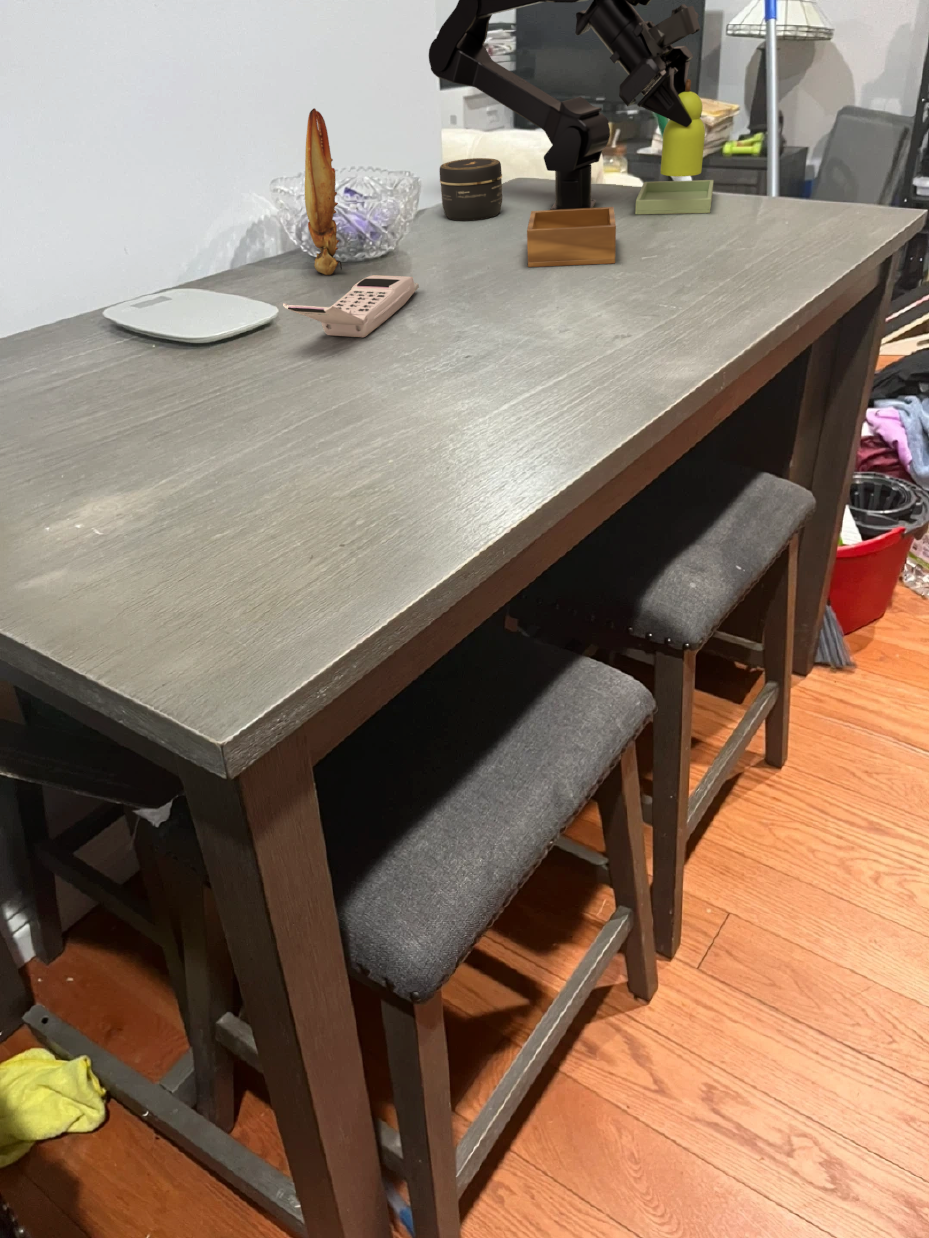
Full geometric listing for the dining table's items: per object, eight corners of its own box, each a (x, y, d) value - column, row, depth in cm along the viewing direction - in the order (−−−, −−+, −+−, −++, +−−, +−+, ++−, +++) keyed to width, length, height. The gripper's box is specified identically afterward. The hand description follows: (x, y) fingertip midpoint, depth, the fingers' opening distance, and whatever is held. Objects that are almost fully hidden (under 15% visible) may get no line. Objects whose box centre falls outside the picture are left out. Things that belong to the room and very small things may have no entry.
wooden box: (531, 245, 129) (531, 211, 126) (612, 241, 128) (613, 206, 125) (527, 267, 120) (526, 230, 117) (615, 263, 118) (615, 226, 116)
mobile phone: (279, 305, 93) (375, 241, 112) (289, 361, 97) (380, 290, 116) (331, 308, 91) (420, 243, 110) (340, 364, 95) (424, 292, 114)
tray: (643, 195, 151) (643, 182, 150) (712, 193, 148) (713, 180, 147) (635, 214, 140) (635, 200, 139) (709, 213, 137) (710, 199, 136)
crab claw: (333, 283, 120) (307, 112, 109) (299, 282, 122) (270, 114, 110) (355, 269, 125) (333, 104, 114) (322, 268, 127) (297, 106, 115)
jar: (506, 206, 151) (504, 156, 147) (500, 220, 143) (497, 167, 139) (448, 209, 153) (444, 159, 148) (438, 223, 145) (433, 171, 140)
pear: (653, 175, 135) (660, 81, 128) (670, 168, 139) (677, 76, 132) (692, 177, 132) (700, 81, 125) (707, 170, 136) (716, 76, 129)
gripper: (647, -14, 117) (723, 84, 119) (684, -20, 130) (752, 68, 132) (587, 59, 124) (660, 149, 127) (628, 45, 138) (694, 128, 140)
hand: (694, 121), depth 131 cm, fingers closed on pear, 5 cm apart
